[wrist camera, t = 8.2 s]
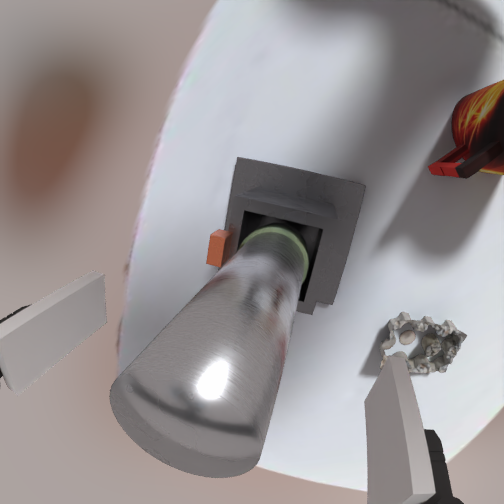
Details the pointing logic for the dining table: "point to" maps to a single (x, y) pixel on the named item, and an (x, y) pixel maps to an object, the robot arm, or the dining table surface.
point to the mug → (476, 135)
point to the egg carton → (424, 343)
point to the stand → (293, 220)
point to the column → (218, 362)
